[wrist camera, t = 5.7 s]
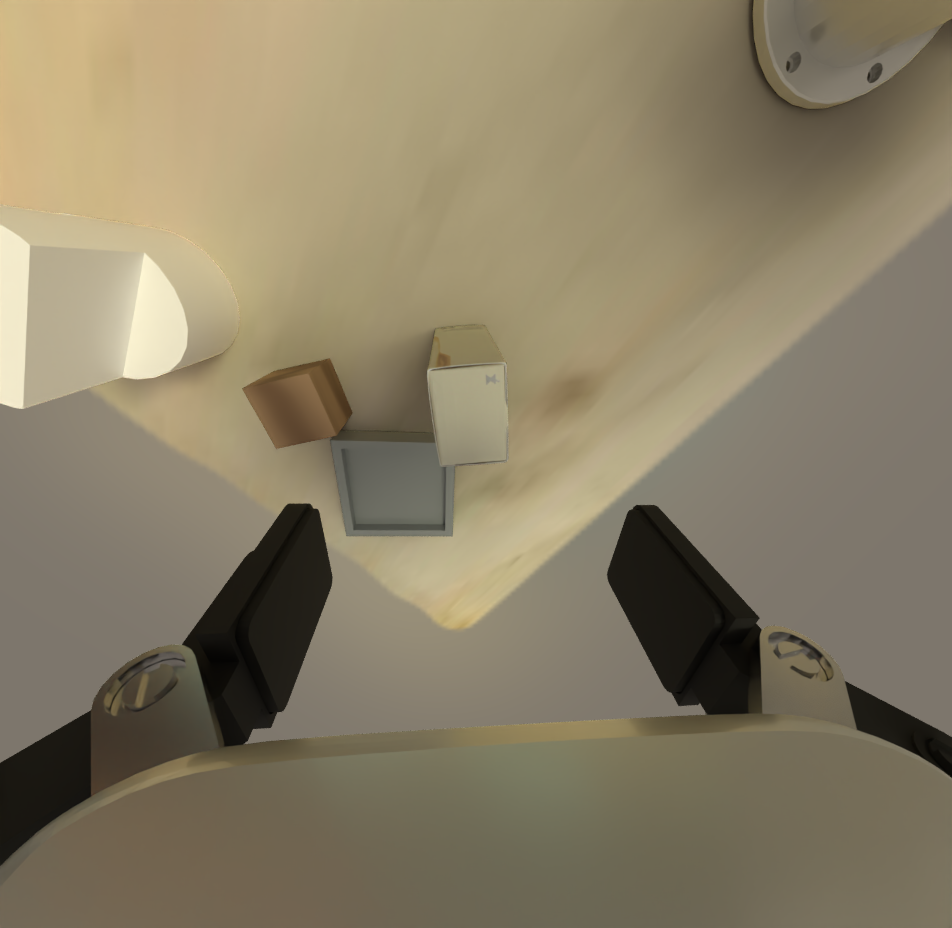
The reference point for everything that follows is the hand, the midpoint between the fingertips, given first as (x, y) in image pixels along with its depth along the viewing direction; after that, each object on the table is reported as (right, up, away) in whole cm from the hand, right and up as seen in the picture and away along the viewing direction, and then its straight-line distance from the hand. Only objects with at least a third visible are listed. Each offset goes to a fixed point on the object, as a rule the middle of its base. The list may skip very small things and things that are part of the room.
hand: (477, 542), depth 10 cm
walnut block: (-14, +9, +19) cm, 26 cm away
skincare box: (-1, +11, +19) cm, 22 cm away
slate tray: (-8, +1, +24) cm, 26 cm away
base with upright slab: (-23, +15, +15) cm, 31 cm away
